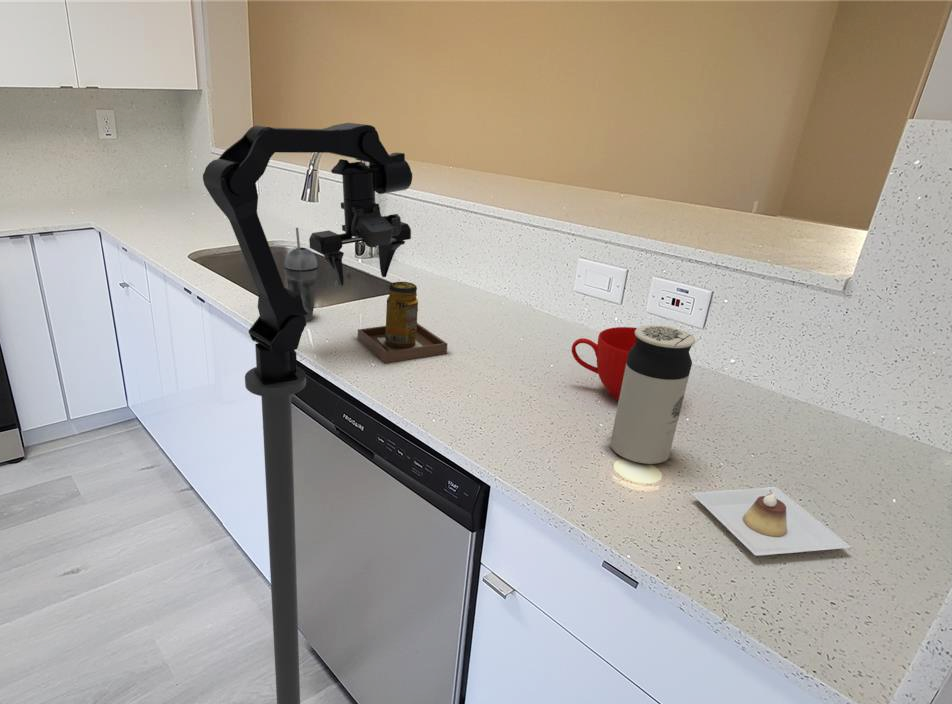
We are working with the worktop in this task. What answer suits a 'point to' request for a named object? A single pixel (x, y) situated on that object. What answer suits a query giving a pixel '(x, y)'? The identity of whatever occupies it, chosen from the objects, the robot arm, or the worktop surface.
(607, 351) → the ceramic cup
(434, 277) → the worktop surface
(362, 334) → the tray
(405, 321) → the condiment
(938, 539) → the worktop surface
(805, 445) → the worktop surface
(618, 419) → the travel mug
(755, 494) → the dessert
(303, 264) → the beverage cup
